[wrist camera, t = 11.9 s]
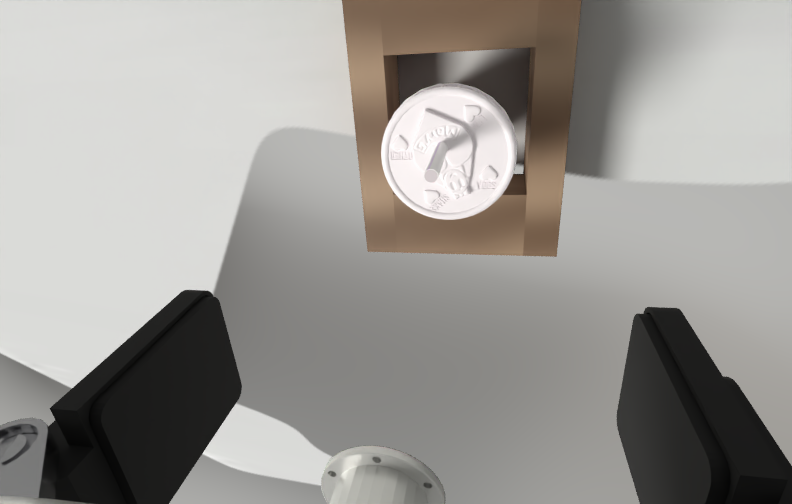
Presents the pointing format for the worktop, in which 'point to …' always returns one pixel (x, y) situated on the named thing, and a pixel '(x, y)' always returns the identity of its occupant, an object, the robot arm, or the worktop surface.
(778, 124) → the worktop surface
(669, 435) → the robot arm
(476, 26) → the cutout board
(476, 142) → the smoothie
